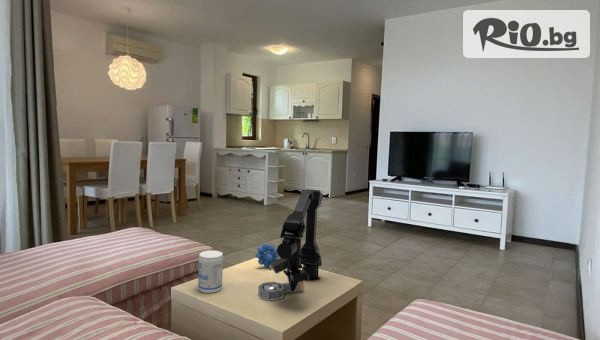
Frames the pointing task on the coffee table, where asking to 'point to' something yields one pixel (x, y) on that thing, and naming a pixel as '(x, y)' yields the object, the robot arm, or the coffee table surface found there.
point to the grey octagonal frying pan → (278, 293)
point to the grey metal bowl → (271, 288)
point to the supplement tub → (210, 271)
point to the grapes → (266, 255)
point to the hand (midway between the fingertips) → (292, 290)
